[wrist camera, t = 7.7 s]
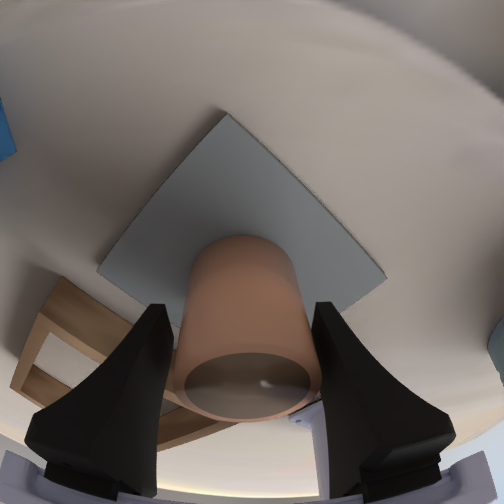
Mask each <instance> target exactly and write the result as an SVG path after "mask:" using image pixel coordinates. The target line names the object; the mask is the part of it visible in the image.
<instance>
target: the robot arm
mask: <svg viewBox="0 0 504 504" xmlns="http://www.w3.org/2000/svg"><path fill="white" fill-rule="evenodd" d="M311 333H312V337H313V341H314V345H315V349H316V353H317V357H318V361H319V365H320V369H321V373H322V384H321V387H320V393H321V398H322V400H321V401H319V402H317V403H314V404H312V405H310V406H308V407H306V408H304V409H302V410H300V411H298V412H295V413H293V414H291V415H289V421H290V422H293V423H296V424H298V425H301V426H304V427H307V428H310V429H311V430H312V438H313V446H314V454H315V462H316V470H317V479H318V488H319V497H320V501H315V502H305V503H295V504H490V503H492V502H494V501H495V500H497V498H498V497H497V493H496V489H495V486H494V482H493V479H492V475H491V472H490V469H489V466H488V462H487V459H486V456H485V454H484V451H480V452H478V453H476V454H473V455H471V456H469V457H466V458H464V459H462V460H460V461H458V462H456V463H455V464H453V465H452V466H451V467H450V468H448V469H446V470H443V471H440V469H439V466H438V463H439V462H440V461H441V458H440V454H439V453H440V452H441V451H443V450H444V449H445V448H446V447H447V446H449V445H450V444H451V443H452V442H453V441H454V439H455V437H456V433H455V430H454V427H453V424H452V422H451V420H450V418H449V415H448V414H446V413H445V412H443V411H441V410H439V409H438V408H436V407H434V406H432V405H431V404H429V403H427V402H426V401H424V400H423V399H422V398H420V397H419V396H417V395H416V394H414V393H413V392H412V391H410V390H409V389H408V388H407V387H405V386H404V385H403V384H402V383H400V382H399V381H398V380H397V379H396V378H394V377H393V376H392V375H391V374H390V373H389V372H388V371H387V370H386V369H385V368H384V367H383V366H382V365H381V364H380V363H379V362H378V361H377V360H376V359H375V358H374V357H373V356H372V355H371V353H370V352H369V351H368V350H367V349H366V348H365V346H364V345H363V344H362V343H361V342H360V340H359V339H358V338H357V337H356V335H355V334H354V333H353V331H352V330H351V329H350V327H349V326H348V325H347V323H346V322H345V321H344V319H343V318H342V316H341V315H340V313H339V312H338V311H337V309H336V308H335V306H334V305H333V303H332V302H331V301H328V302H316V303H315V310H314V316H313V321H312V327H311ZM173 343H174V336H173V332H172V328H171V325H170V321H169V317H168V313H167V309H166V305H165V304H153V303H151V304H150V305H149V306H148V307H147V309H146V310H145V311H144V313H143V314H142V315H141V317H140V318H139V319H138V321H137V322H136V323H135V325H134V326H133V327H132V329H131V330H130V331H129V332H128V334H127V335H126V336H125V337H124V339H123V340H122V341H121V342H120V344H119V345H118V346H117V347H116V348H115V349H114V350H113V352H112V353H111V354H110V355H109V356H108V357H107V358H106V359H105V360H104V362H103V363H102V364H101V365H100V366H99V367H98V368H97V369H96V370H95V371H93V372H92V373H91V374H90V375H89V376H88V377H87V378H86V379H85V380H83V381H82V382H81V383H80V384H79V385H77V386H76V387H75V388H74V389H72V390H71V391H70V392H68V393H67V394H66V395H64V396H63V397H61V398H60V399H58V400H57V401H55V402H54V403H52V404H50V405H49V406H47V407H45V408H43V409H42V410H40V411H38V412H36V413H34V415H33V417H32V419H31V422H30V425H29V428H28V431H27V433H26V436H25V439H24V442H25V444H26V445H27V446H28V447H29V448H30V449H31V450H33V451H34V452H35V453H36V454H38V455H39V456H40V457H42V458H44V459H45V460H46V461H47V465H46V469H42V468H40V467H38V466H37V465H36V464H34V463H33V462H31V461H30V460H28V459H26V458H24V457H22V456H19V455H17V454H15V453H13V452H10V451H8V450H6V451H5V455H4V458H3V461H2V465H1V468H0V501H1V502H3V503H5V504H194V503H184V502H175V501H167V500H159V499H153V497H154V496H156V495H157V481H156V461H157V438H158V426H159V415H160V409H161V403H162V399H163V394H164V390H165V386H166V382H167V377H168V373H169V369H170V364H171V360H172V352H173Z"/></svg>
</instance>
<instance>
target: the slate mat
mask: <svg viewBox="0 0 504 504" xmlns="http://www.w3.org/2000/svg"><path fill="white" fill-rule="evenodd" d="M237 235H250V236H257V237H261V238H264V239H267V240H269V241H271V242H273V243H275V244H276V245H278V246H279V247H281V248H282V249H283V250H284V251H285V252H286V253H287V255H288V256H289V257H290V259H291V261H292V263H293V266H294V269H295V273H296V276H297V280H298V284H299V287H300V291H301V295H302V298H303V302H304V306H305V310H306V314H307V317H308V321H309V325H310V329H311V327H312V321H313V316H314V310H315V303H316V302H328V301H331V302H332V303H333V305H334V306H335V308H336V309H337V311H338V312H339V313H341V312H342V311H343V310H345V309H346V308H348V307H349V306H351V305H352V304H353V303H355V302H356V301H358V300H359V299H360V298H362V297H363V296H365V295H366V294H367V293H369V292H370V291H372V290H373V289H374V288H376V287H377V286H378V285H380V284H381V283H382V282H384V281H385V280H386V279H387V277H386V275H385V273H384V272H383V271H382V270H381V268H380V267H379V266H378V265H377V264H376V263H375V261H374V260H373V259H372V258H371V257H370V256H369V255H368V253H367V252H366V251H365V250H364V249H363V248H362V247H361V245H360V244H359V243H358V242H357V241H356V240H355V239H354V238H353V236H352V235H351V234H350V233H349V232H348V231H347V230H346V229H345V228H344V227H343V226H342V224H341V223H340V222H339V221H338V220H337V219H336V218H335V217H334V216H333V215H332V214H331V213H330V212H329V210H328V209H327V208H326V207H325V206H324V205H323V204H322V203H321V202H320V201H319V200H318V199H317V198H316V197H315V196H314V195H313V194H312V193H311V192H310V191H309V190H308V189H307V188H306V187H305V186H304V185H303V184H302V183H301V182H300V181H299V180H298V179H297V178H296V177H295V176H294V175H293V174H292V173H291V172H290V171H289V170H288V169H287V168H286V167H285V166H284V165H283V164H282V163H281V162H280V161H279V160H278V159H277V158H276V157H275V156H274V155H273V154H272V153H271V152H270V151H269V150H268V149H267V148H266V147H265V146H264V145H263V144H261V143H260V142H259V141H258V140H257V139H256V138H255V137H254V136H253V135H252V134H251V133H250V132H249V131H247V130H246V129H245V128H244V127H243V126H242V125H241V124H240V123H239V122H238V121H236V120H235V119H234V118H233V117H232V116H231V115H230V114H229V113H227V114H226V115H225V116H224V117H223V118H222V119H221V120H220V121H219V122H218V123H217V124H216V125H215V126H214V127H213V128H212V129H211V131H210V132H209V133H208V134H207V135H206V136H205V137H204V138H203V139H202V140H201V141H200V142H199V143H198V144H197V146H196V147H195V148H194V149H193V150H192V151H191V152H190V153H189V154H188V155H187V157H186V158H185V159H184V160H183V161H182V162H181V163H180V164H179V166H178V167H177V168H176V169H175V170H174V171H173V172H172V174H171V175H170V176H169V177H168V178H167V179H166V181H165V182H164V183H163V184H162V185H161V187H160V188H159V189H158V190H157V191H156V193H155V194H154V195H153V196H152V197H151V199H150V200H149V201H148V202H147V204H146V205H145V206H144V207H143V209H142V210H141V211H140V212H139V214H138V215H137V216H136V217H135V219H134V220H133V221H132V223H131V224H130V225H129V227H128V228H127V229H126V230H125V232H124V233H123V234H122V236H121V237H120V238H119V240H118V241H117V242H116V244H115V245H114V247H113V248H112V249H111V251H110V252H109V253H108V255H107V256H106V258H105V259H104V260H103V262H102V263H101V265H100V266H99V268H98V269H97V271H96V272H97V273H99V274H100V275H101V276H103V277H104V278H105V279H107V280H108V281H110V282H111V283H112V284H114V285H115V286H117V287H118V288H120V289H121V290H122V291H124V292H125V293H127V294H128V295H130V296H131V297H133V298H134V299H135V300H137V301H138V302H140V303H141V304H143V305H144V306H146V307H148V306H149V305H150V304H151V303H153V304H165V305H166V309H167V313H168V317H169V321H170V322H171V323H172V324H174V325H175V326H177V327H179V328H180V327H181V321H182V314H183V309H184V303H185V297H186V291H187V286H188V280H189V275H190V270H191V266H192V264H193V262H194V260H195V258H196V257H197V256H198V254H199V253H200V252H201V251H202V250H203V249H204V248H205V247H207V246H208V245H210V244H211V243H213V242H215V241H217V240H220V239H222V238H226V237H230V236H237Z"/></svg>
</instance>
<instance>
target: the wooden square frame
mask: <svg viewBox="0 0 504 504" xmlns="http://www.w3.org/2000/svg"><path fill="white" fill-rule="evenodd" d="M132 327H133V325H132V324H130V323H128V322H127V321H125V320H124V319H122V318H121V317H119V316H118V315H116V314H115V313H113V312H112V311H110V310H109V309H107V308H106V307H104V306H103V305H101V304H100V303H99V302H97V301H96V300H94V299H93V298H91V297H90V296H89V295H87V294H86V293H84V292H83V291H82V290H80V289H79V288H77V287H76V286H75V285H73V284H72V283H71V282H69V281H68V280H67V279H65V278H64V277H63V276H62V277H61V279H60V280H59V282H58V283H57V285H56V286H55V288H54V289H53V291H52V292H51V294H50V295H49V297H48V298H47V300H46V302H45V303H44V305H43V306H42V308H41V310H40V311H39V313H38V315H37V318H36V320H35V322H34V324H33V327H32V329H31V331H30V334H29V336H28V339H27V341H26V343H25V346H24V348H23V351H22V354H21V356H20V359H19V361H18V364H17V367H16V370H15V372H14V375H13V378H12V381H11V384H10V388H11V389H13V390H14V391H16V392H17V393H19V394H20V395H22V396H23V397H25V398H26V399H28V400H29V401H31V402H33V403H34V404H36V405H37V406H39V407H41V408H42V409H43V408H45V407H47V406H49V405H50V404H52V403H54V402H55V401H57V400H58V399H60V398H61V397H63V396H64V395H66V394H67V393H68V392H70V391H71V390H72V389H71V388H69V387H67V386H65V385H64V384H62V383H60V382H59V381H57V380H56V379H54V378H52V377H51V376H49V375H48V374H46V373H45V372H43V371H42V370H40V369H39V368H37V367H36V366H34V365H33V362H34V360H35V358H36V356H37V354H38V352H39V351H40V349H41V347H42V345H43V343H44V341H45V339H46V337H47V335H48V334H49V332H52V333H53V334H54V335H56V336H57V337H59V338H60V339H62V340H63V341H65V342H66V343H68V344H69V345H71V346H72V347H74V348H75V349H77V350H79V351H80V352H82V353H83V354H85V355H86V356H88V357H90V358H91V359H93V360H95V361H96V362H98V363H100V364H102V363H103V362H104V360H105V359H106V358H107V357H108V356H109V355H110V354H111V353H112V352H113V350H114V349H115V348H116V347H117V346H118V345H119V344H120V342H121V341H122V340H123V339H124V337H125V336H126V335H127V334H128V332H129V331H130V330H131V329H132ZM176 353H177V352H176V351H175V350H173V352H172V360H171V364H170V369H169V373H168V377H167V382H166V386H165V390H164V394H163V398H165V399H167V400H169V401H172V402H174V403H176V404H178V405H180V406H182V407H180V408H178V409H176V410H174V411H172V412H170V413H168V414H165V415H163V416H161V417H159V426H158V438H157V452H159V451H162V450H166V449H169V448H172V447H175V446H178V445H181V444H184V443H187V442H190V441H193V440H196V439H199V438H202V437H204V436H207V435H210V434H213V433H215V432H218V431H221V430H223V429H226V428H228V427H231V426H233V425H236V424H238V423H241V422H228V421H222V420H217V419H213V418H209V417H206V416H203V415H201V414H199V413H196V412H195V411H193V410H191V409H189V408H188V407H186V406H185V405H184V404H183V403H182V402H181V401H180V400H179V399H178V398H177V396H176V394H175V393H174V390H173V385H172V381H173V374H174V366H175V359H176Z"/></svg>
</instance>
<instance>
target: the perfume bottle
mask: <svg viewBox="0 0 504 504" xmlns="http://www.w3.org/2000/svg"><path fill="white" fill-rule="evenodd" d="M15 152H16V148H15V145H14V142H13V139H12V136H11V133H10V130H9V127H8V124H7V120H6V117H5V113H4V110H3V106H2V102H1V99H0V161H2V160H3V159H5V158H6V157H8V156H10V155H11V154H13V153H15Z"/></svg>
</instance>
